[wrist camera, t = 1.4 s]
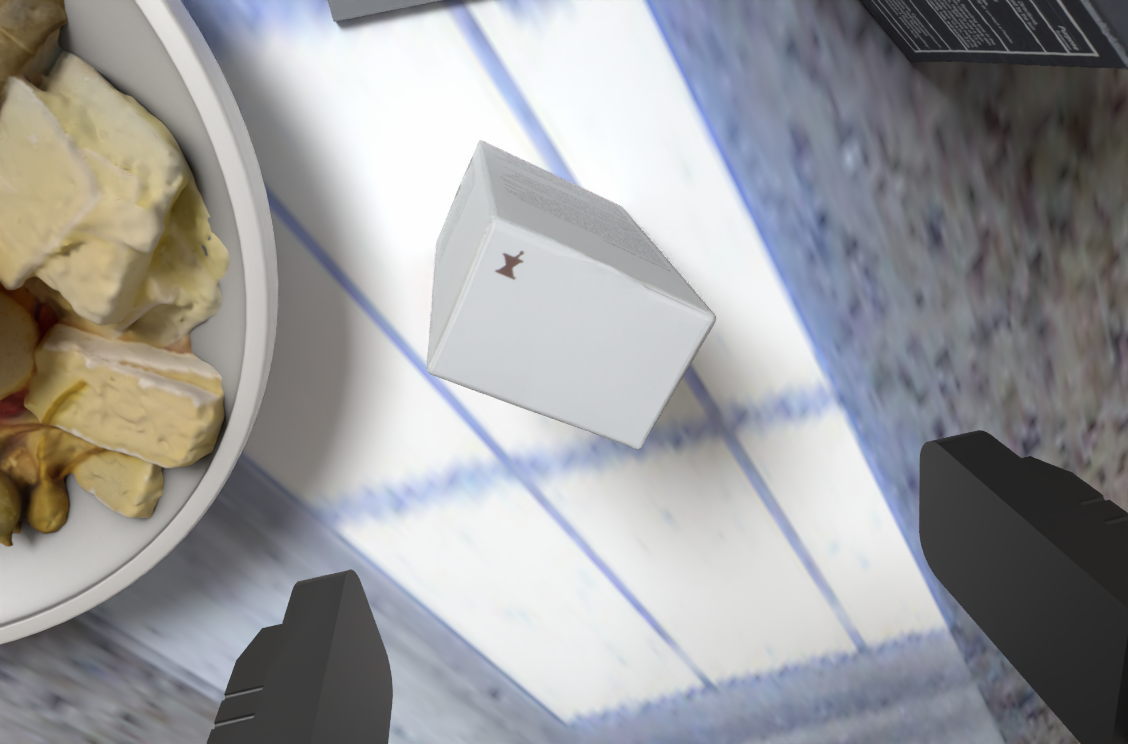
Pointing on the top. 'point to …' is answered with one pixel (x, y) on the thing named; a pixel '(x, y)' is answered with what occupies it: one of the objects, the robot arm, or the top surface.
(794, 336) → the top surface
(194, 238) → the bowl
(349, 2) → the card
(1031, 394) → the top surface
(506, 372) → the skincare box
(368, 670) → the robot arm
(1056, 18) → the small box
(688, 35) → the top surface
